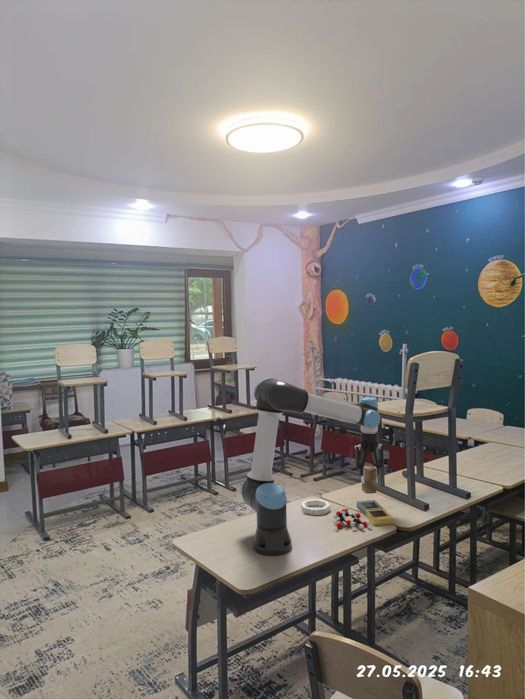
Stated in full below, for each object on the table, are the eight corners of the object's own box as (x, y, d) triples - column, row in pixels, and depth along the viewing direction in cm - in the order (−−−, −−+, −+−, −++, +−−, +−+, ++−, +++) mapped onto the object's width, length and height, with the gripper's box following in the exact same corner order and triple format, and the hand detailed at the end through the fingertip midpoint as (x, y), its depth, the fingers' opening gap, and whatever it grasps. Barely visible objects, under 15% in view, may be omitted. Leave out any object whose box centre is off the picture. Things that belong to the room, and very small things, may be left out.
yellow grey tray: (373, 525, 208) (373, 519, 208) (356, 506, 229) (356, 501, 229) (393, 523, 210) (393, 517, 210) (374, 505, 230) (374, 499, 230)
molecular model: (336, 516, 219) (369, 511, 216) (338, 540, 209) (373, 535, 206) (331, 501, 214) (365, 496, 211) (332, 526, 204) (368, 520, 200)
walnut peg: (365, 493, 221) (365, 469, 220) (362, 489, 226) (361, 466, 225) (376, 492, 221) (376, 469, 221) (372, 489, 226) (372, 465, 226)
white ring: (305, 516, 220) (305, 510, 220) (299, 505, 232) (299, 500, 232) (332, 513, 222) (332, 508, 222) (324, 503, 234) (324, 498, 234)
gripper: (352, 434, 217) (352, 486, 218) (391, 432, 220) (391, 483, 221) (347, 430, 224) (347, 480, 226) (384, 429, 227) (384, 478, 228)
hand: (369, 482), depth 223 cm, fingers closed on walnut peg, 5 cm apart
